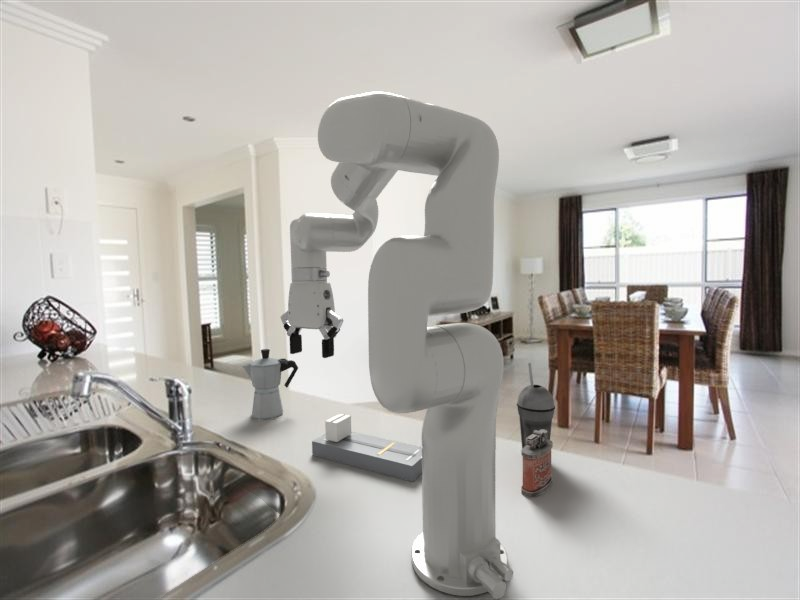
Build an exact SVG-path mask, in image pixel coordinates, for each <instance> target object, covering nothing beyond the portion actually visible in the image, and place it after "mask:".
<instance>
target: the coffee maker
mask: <svg viewBox="0 0 800 600" xmlns="http://www.w3.org/2000/svg"><path fill="white" fill-rule="evenodd" d="M270 351H271V350H270V349H269V348H263V349H261V350H260V353H261V358H259V359H257V360H253V361H251V362H249V363H246V364H244V365H243V364H242V365H241V366H240V367H242V368H243V369H244V371H245V372H246V373H247V375H248V377H249V378H250V380H251V384H252V385H251V386H252V387H253V388H254V394H253V400H252V401H253V402H252V410H251V419H255V418H256V420H259V419H260V420H259V421H261V419H263V420H270V419H272V418H273V419H275V417H276V418H278V417H280V415H281V416H283V415H284V406H283V403H282V397H281V392H280V388H279V386H280V385H281V380H282V372H285V371H286V370H288V369H291V368H292V371H291V373H290V375H288V378H287V379H286V381H285V383H284V384H283V385H284V387H285V388H288V387H289V385H290V384H291V382H292V380H293V378H294V377H295V375H296V373H297V372H298V370H299V367H298V365H297V363H296V361H294V360H288V359H286V358H279V359H278V358H273V357H270Z"/></svg>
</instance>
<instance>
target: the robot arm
mask: <svg viewBox="0 0 800 600" xmlns="http://www.w3.org/2000/svg"><path fill="white" fill-rule="evenodd" d="M317 130H318V131H317V142H318V143H317V145H318V147H319V150H320V152H321V154H322V155H323V156H324V157H325V159H327V160H329V161H330V162H334V163H338V164H337V165H336V168H335V169H334V170H333V172H332V174H331V176H330V177H331V178H330V185H331V189H332V192H333V194H334V195H335V196H336V198H337V199H338V200H339V202H341V203H342V204H343V205H344V206H346V207H348V209H351V210H352V211H354V212H353V213H352V214H351V215H348V214H347V215H345V214H333V213H319V212H318V213H317V212H315V213H313V212H310V213H309V212H308V213H303V214H302V215H300V216H299V217H298V218H296V219H293V220H291V222H290V225H289V238H290V243H289V244H290V266H291V273H290V274H291V282H290V285H289V293H288V302H287V303H288V305H287V311H285V312H284V313H283V314H282V315H281V316H280V319H281V322H282V325H283V328H284V330H285V331H286V335H287V337H289V354H290V355H295V354H299V353H302V352H303V340H302V339H303V338H302V334H300V333H301V331H302V329H308V330H319V332H320V333H321V335H322V337H323V339H321V357H322V358H323V359H327V358H331V357H333V356H334V355H335V339H336V337H337V335H338V333H339V332H340V331H341V328H342V326H343V323H344V318H342V317H341V316H339V314H337V313H336V311H335V310H336V309H335V301H334V293H333V288H332V285H331V282H328V278H329V277H330V273H331V272H330V271H329V270H328V268H327V266H328V265H327V252H330V253H331V252H337V253H339V252H341V253H342V252H343V253H345V252H346V253H350V252H351V253H352V252H356V251H357V250H359V249H361V248H362V247H363V246H364V245H365V244H366V243H367V242H368V241H369V239H370V238H371V237H372V236H373V235H374V233H375V231H376V230H377V229H376V228H377V226H378V221H379V220H378V219H379V206H378V201H377V199H378V197H379V196H380V194H381V193H383V191H384V189H385V188H386V187H387V185H388V184H389V183H390V182H391V180H392V179H393V177H394V176H395V175H396V174H397V172H398V171H399V172H400V171H402V172H407V173H414V174H421V175H422V174H423V175H429V176H437V177H436V179H435V180H434V182H433V184H432V185H431V188H430V189H429V191H428V194H427V197H426V199H425V203H424V231H423V233H424V235H409V234H408V235H401V236H399V235H398V236H395V237H391V238H390V239H388V240H386V241H385V242H384V243H383V244H382V245H380V247H379V248H378V250H377V251H376V253H375V255H374V257H373V259H372V261H371V265H370V269H369V273H368V279H367V280H368V284H367V285H368V287H367V306H368V307H367V312H368V314H367V315H368V316H367V317H368V320H367V321H368V327H367V328H368V329H367V330H368V333H367V334H368V368H369V369H368V370H369V377H370V378H369V379H370V383H371V384H370V385H371V387H372V391H373V393H374V396H375V398H376V400H377V401H378V402H379V404H380V405H381V407H383V408H384V409H386V410H387V411H389V412H392V413H394V414H410V413H414V412H415V413H416V412H419V411H424V410H426V411H425V415H424V418H423V420H422V421H423V422H422V427H421V447H422V473H421V480H422V481H421V487H422V488H421V496H422V497H421V499H422V500H421V502H422V505H421V506H422V532H421V533H420V534H419V535H418V536H417V537H416V539H415V540H414V541H413V544H412V546H411V553H410V555H411V563H412V567H413V570H414V572H415V573H416V575H417V576H418V578H420V579H421V580H422V581H423V582H424V583H425V584H427V585H428V586H429V587H431V588H433V589H435V590H437V591H439V592H441V593H445V594H448V595H453V596H459V597H460V596H462V597H463V596H464V597H465V596H468V597H471V596H476V595H478V596H479V595H482V594H485V593H489V594H490V595H491V596H492V597H493V598H494V599H496V600H498V599H501V598H502V597H503V596H504V595H505V593H506V589H507V585H506V582H508V581H511V580H512V579H513V576H514V571H513V569H512V568H511V567H510V566H509V558H508V553H507V551H506V548H505V546H504V545H503V544H502V542H501V541H500V540H499V539H498V538H497V537H496V536H497V535H496V534H497V533H496V532H497V531H496V529H497V528H496V526H497V525H496V449H497V448H496V447H497V446H496V445H497V443H496V440H497V439H496V434H497V433H496V431H497V411H498V403H499V396H500V392H501V388H502V387H501V386H502V382H503V377H504V376H503V375H504V368H505V367H504V363H505V362H504V354H503V350H502V347H501V344H500V342H499V341H498V339H497V338H496V336H495V335H494V334H493V332H491V331H490V330H488V329H487V328H486V327H484V326H482V325H478V324H476V323H469V322H455V323H446V324H438V325H436V324H435V325H431V326H428V322H429V321H428V320H429V317H438V316H439V317H440V316H448V315H457V314H464V313H469V312H472V311H476V310H479V309H480V308H482V307H484V305H485V304H486V303H487V302H488V301H489V298H490V297H491V294H492V289H493V283H494V282H493V279H494V246H495V245H494V241H495V240H494V236H495V234H494V233H495V214H494V213H495V212H494V211H495V193H496V185H497V180H498V179H497V178H498V172H499V161H500V150H499V143H498V139H497V137H496V135H495V133H494V131H493V129H492V128H491V127H490V126H489V125H488V124H487V123H486V122H485V121H483V120H481V119H480V118H477V117H474V116H472V115H469V114H467V113H463V112H461V111H460V112H459V111H456V110H453V109H449V108H446V107H443V106H439V105H436V104H432V103H428V102H427V103H426V102H422V101H420V100H416V99H412V98H409V97H407V96H406V97H405V96H402V95H400V94H399V95H398V94H394V93H391V92H386V91H385V92H384V91H370V92H365V93H361V94H356V95H349V96H345V97H340V98H338V99H336V100H335V101H334V102H332V103H331V104H330V105H328V107H327V108H326V110H325V111H324V112H323V114H322V117H321V119H320V121H319V125H318V129H317ZM504 580H505V581H506V582H504Z"/></svg>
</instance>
